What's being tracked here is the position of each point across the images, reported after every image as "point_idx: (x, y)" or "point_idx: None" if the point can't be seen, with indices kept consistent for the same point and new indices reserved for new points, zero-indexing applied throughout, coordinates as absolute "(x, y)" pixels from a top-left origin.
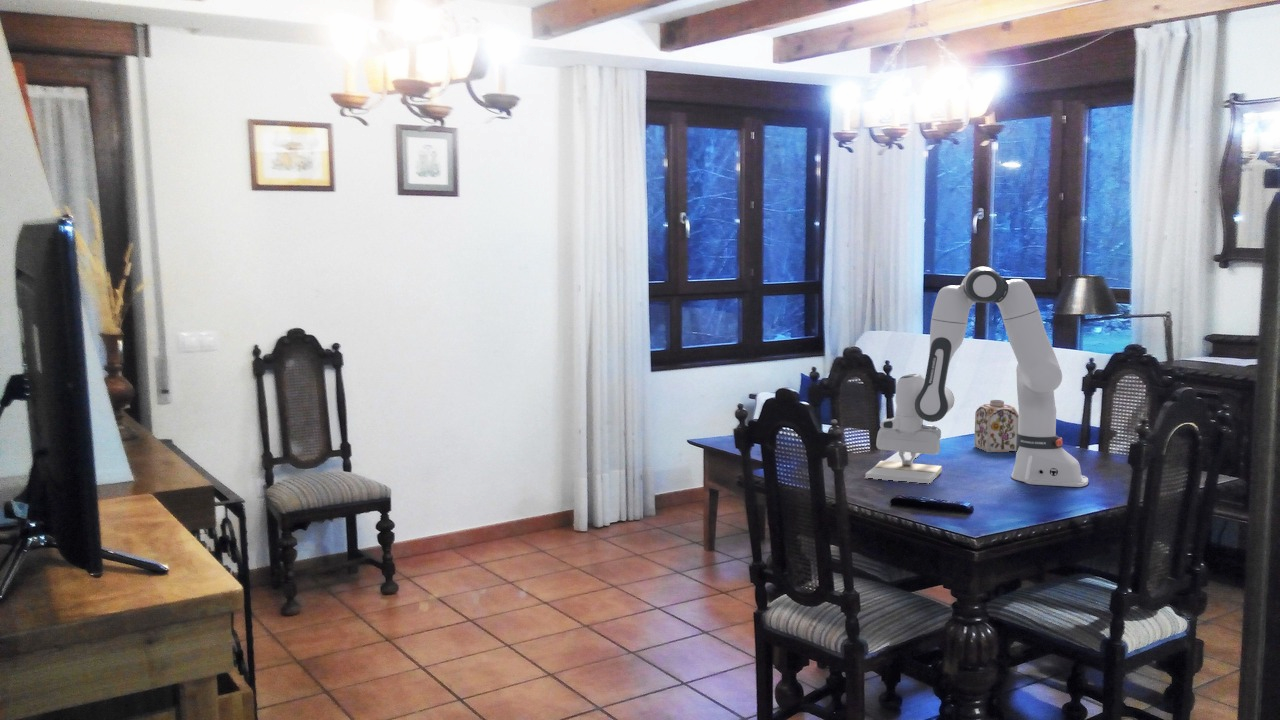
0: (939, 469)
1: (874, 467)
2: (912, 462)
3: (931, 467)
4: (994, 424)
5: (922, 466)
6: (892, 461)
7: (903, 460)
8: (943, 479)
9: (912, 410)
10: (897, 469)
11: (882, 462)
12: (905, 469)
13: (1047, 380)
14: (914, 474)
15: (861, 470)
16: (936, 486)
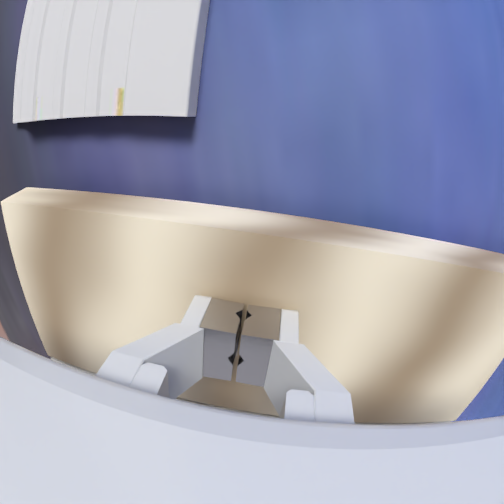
0: (502, 355)
1: (50, 352)
2: (297, 332)
3: (465, 340)
4: None
5: (397, 329)
6: (72, 2)
7: (197, 372)
8: (470, 406)
9: None
10: (191, 396)
11: (29, 256)
12: (249, 408)
13: None
14: None
15: (9, 303)
16: None
